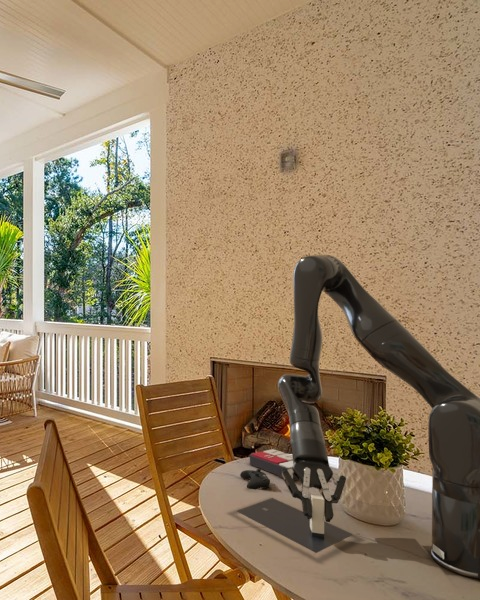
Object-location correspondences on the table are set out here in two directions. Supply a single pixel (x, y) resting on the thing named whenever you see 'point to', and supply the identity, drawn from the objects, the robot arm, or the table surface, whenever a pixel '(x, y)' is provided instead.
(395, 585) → the table surface
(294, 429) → the robot arm
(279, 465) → the calculator
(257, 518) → the tablet
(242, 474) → the game controller
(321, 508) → the tall cream square pillar
